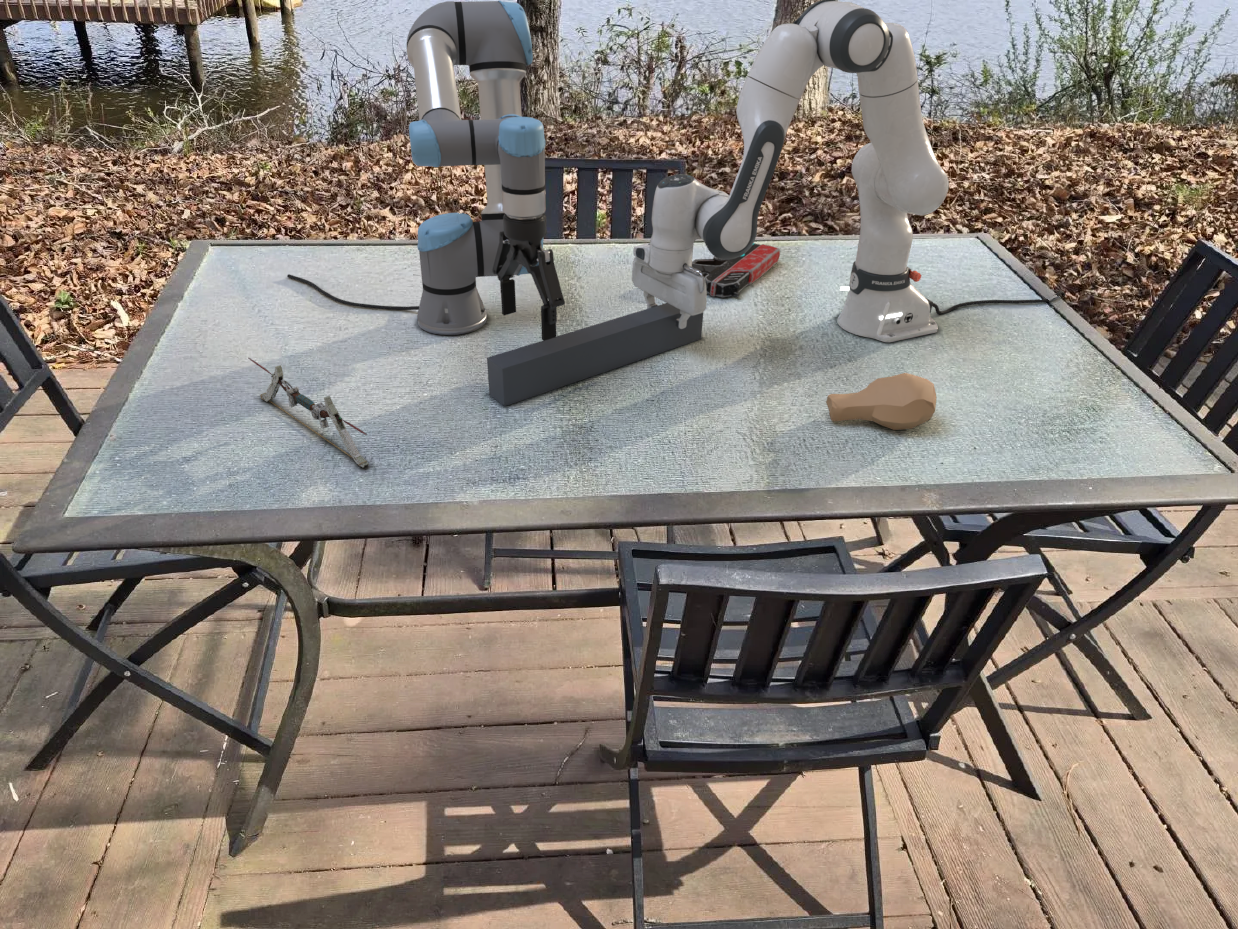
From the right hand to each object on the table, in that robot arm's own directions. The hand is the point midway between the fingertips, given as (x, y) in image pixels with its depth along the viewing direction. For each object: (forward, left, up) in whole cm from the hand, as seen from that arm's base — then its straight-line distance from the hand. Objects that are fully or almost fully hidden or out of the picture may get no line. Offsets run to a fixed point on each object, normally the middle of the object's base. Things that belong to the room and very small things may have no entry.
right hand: (666, 319), depth 187 cm
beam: (+16, +7, -6) cm, 18 cm away
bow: (+73, +22, -6) cm, 76 cm away
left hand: (+32, +14, +8) cm, 36 cm away
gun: (-27, -36, -6) cm, 45 cm away
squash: (-30, +40, -6) cm, 50 cm away
